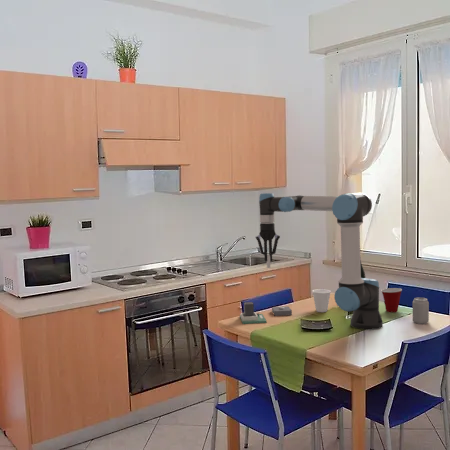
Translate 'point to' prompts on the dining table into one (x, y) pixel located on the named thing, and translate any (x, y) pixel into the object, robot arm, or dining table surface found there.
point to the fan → (281, 311)
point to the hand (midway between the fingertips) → (268, 267)
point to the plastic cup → (391, 299)
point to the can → (420, 310)
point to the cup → (321, 299)
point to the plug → (248, 309)
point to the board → (253, 318)
